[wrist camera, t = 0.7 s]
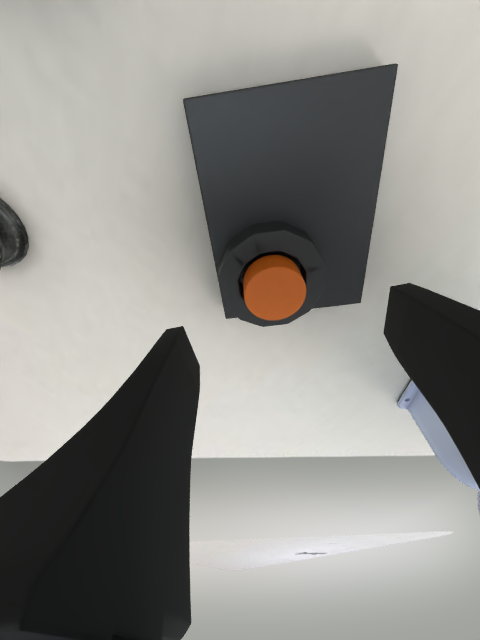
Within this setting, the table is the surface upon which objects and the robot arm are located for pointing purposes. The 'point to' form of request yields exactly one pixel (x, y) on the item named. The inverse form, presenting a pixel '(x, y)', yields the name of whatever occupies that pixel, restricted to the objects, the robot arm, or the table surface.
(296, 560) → the table surface
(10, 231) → the grey tiered figurine
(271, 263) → the round orange button cap
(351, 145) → the orange button switch
